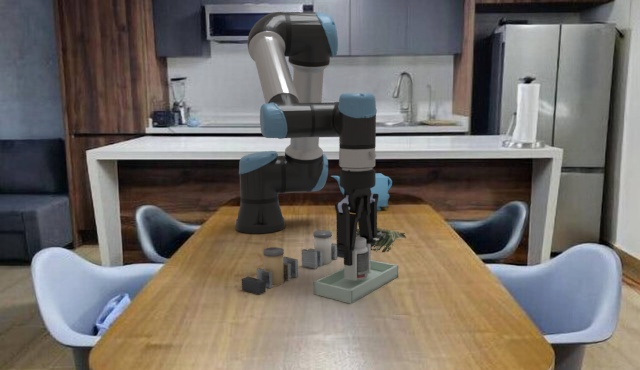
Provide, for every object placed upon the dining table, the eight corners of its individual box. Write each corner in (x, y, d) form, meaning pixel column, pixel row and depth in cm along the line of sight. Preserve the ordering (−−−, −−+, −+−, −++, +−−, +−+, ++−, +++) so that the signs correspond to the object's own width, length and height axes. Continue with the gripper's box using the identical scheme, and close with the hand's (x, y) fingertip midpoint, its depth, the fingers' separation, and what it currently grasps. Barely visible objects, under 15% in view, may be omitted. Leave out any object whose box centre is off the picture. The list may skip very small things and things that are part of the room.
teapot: (388, 204, 198) (388, 167, 196) (395, 210, 187) (395, 171, 185) (329, 206, 196) (328, 169, 194) (333, 213, 185) (332, 173, 183)
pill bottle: (369, 273, 117) (369, 236, 116) (366, 280, 112) (366, 242, 111) (347, 272, 118) (347, 235, 117) (344, 279, 113) (344, 241, 112)
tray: (313, 293, 111) (313, 281, 110) (363, 269, 126) (363, 258, 125) (350, 303, 105) (350, 291, 105) (398, 276, 120) (398, 265, 120)
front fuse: (259, 283, 117) (258, 251, 116) (273, 277, 121) (272, 246, 120) (275, 287, 115) (274, 254, 113) (288, 281, 118) (287, 249, 117)
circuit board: (404, 256, 137) (404, 242, 137) (335, 253, 140) (335, 239, 140) (406, 231, 161) (407, 219, 161) (347, 229, 165) (347, 218, 164)
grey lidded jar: (310, 262, 131) (309, 233, 130) (321, 257, 135) (320, 229, 134) (324, 265, 129) (324, 236, 128) (335, 260, 132) (335, 232, 131)
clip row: (241, 289, 113) (241, 271, 113) (332, 252, 139) (332, 237, 139) (259, 294, 110) (258, 276, 110) (348, 255, 136) (348, 240, 136)
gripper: (348, 175, 102) (349, 291, 106) (394, 164, 116) (393, 267, 120) (317, 172, 106) (318, 283, 110) (364, 162, 120) (364, 261, 124)
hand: (357, 275), depth 115 cm, fingers closed on pill bottle, 5 cm apart
